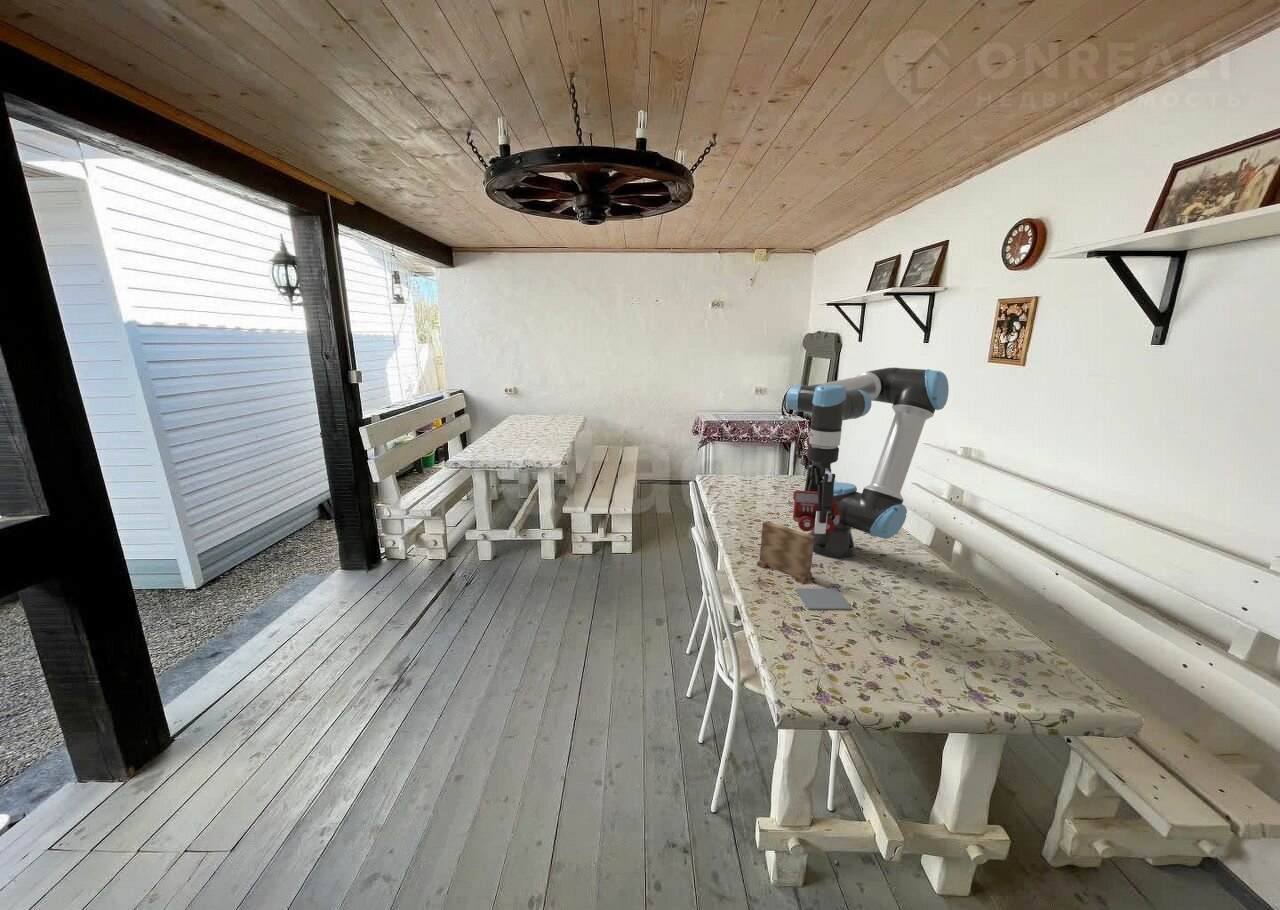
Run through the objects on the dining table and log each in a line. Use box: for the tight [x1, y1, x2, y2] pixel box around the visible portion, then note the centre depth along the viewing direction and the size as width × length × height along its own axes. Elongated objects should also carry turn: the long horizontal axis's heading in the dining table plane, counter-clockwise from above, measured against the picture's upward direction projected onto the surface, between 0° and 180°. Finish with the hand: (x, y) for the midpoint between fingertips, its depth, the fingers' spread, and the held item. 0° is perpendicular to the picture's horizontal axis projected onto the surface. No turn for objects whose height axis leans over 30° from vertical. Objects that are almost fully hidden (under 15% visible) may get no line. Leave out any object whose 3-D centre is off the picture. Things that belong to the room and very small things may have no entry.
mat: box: [794, 587, 853, 611], centre depth 130 cm, size 12×10×1 cm
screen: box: [756, 520, 815, 584], centre depth 144 cm, size 16×6×14 cm, turn 46°
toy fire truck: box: [792, 489, 841, 533], centre depth 125 cm, size 7×12×10 cm, turn 79°
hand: (814, 526), depth 127 cm, fingers closed on toy fire truck, 7 cm apart
